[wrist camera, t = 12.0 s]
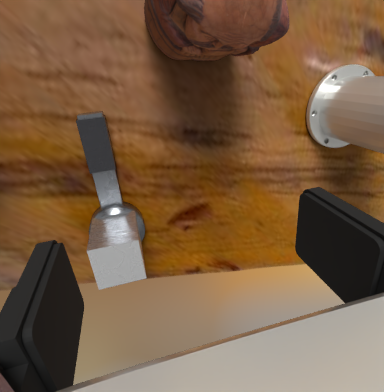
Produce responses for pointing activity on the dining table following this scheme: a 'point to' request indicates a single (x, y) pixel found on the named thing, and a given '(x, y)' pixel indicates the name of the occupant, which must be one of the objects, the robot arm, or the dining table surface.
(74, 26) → the dining table surface
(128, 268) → the brushed metal cube
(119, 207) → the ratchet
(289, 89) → the dining table surface
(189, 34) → the wooden figurine
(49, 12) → the dining table surface
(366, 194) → the dining table surface
